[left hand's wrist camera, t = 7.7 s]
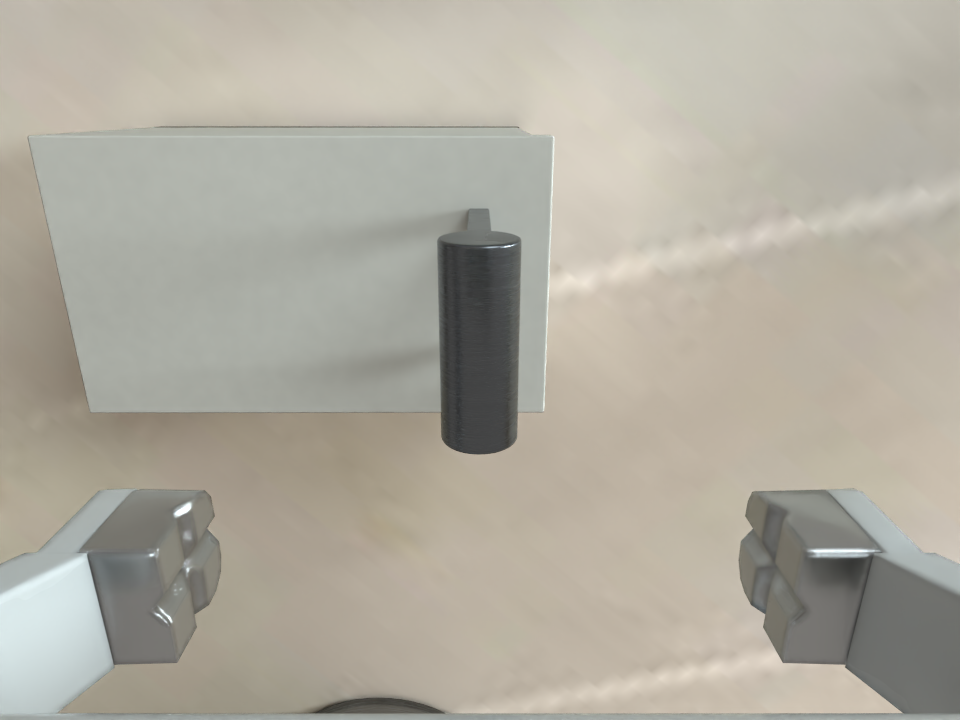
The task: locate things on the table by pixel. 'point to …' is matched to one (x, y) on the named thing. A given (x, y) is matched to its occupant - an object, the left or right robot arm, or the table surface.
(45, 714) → the left robot arm
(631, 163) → the table surface
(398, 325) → the lid
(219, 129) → the chest
